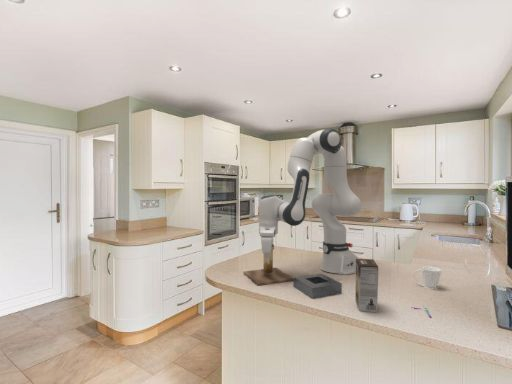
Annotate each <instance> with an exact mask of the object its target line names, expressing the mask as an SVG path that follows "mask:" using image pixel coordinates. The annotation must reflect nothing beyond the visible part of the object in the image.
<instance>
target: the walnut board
mask: <svg viewBox="0 0 512 384" xmlns="http://www.w3.org/2000/svg"><path fill="white" fill-rule="evenodd" d="M243 275H244V276H246V277H247V278H248V279H249V280H250V281H252V282H253V283H254V284H255V285H256V286H257V287H261V286H267V285H273V284H280V283H288V282H294V276H291V275H289V274H288V273H286V272H285V271H283V270H281V269H280V268H277V267H273V272H272V273H264V272H263V268H262V269H254V270H246V271H243Z"/></svg>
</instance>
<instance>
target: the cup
mask: <svg viewBox="0 0 512 384" xmlns="http://www.w3.org/2000/svg"><path fill="white" fill-rule="evenodd" d="M418 271H419V272H421V273H422V279H423V282H424V284H422V283H420V282H419V281H418V280H417V279H416V273H417V272H418ZM441 272H442V269H440V268H438V267H434V266H423V267H421V269H416V270H415V271H414V273H413V279H414V280H415V282H416V283H417V284H419V285H420V286H422V287H423V286H424V288H426V287H427V288H426V289H429V288H430V289H429V290H437V289H438V285H439V282H440V277H441Z"/></svg>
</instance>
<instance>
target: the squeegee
mask: <svg viewBox="0 0 512 384" xmlns="http://www.w3.org/2000/svg"><path fill="white" fill-rule="evenodd" d="M411 308H414V309H413V310H417V309H421V308H418V307H412V306H411V307H410V309H411ZM424 309H426V311H427V312H426V311H425V312H426V314H427V313H428V314H427V315H428V318H430V319H433V318H432V315H431V313H430V311H428V308H427V307H426V308H424Z"/></svg>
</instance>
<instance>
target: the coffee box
mask: <svg viewBox="0 0 512 384" xmlns="http://www.w3.org/2000/svg"><path fill="white" fill-rule="evenodd" d="M378 295H379V265H378V264H377V263H376V261H375V259H373V258H372V259H371V258H369V259H366V258H358V259H356V272H355V299H354V300H355V303H356V306H357V309H358V311H360V312H369V313H370V312H371V313H378V298H379V297H378Z"/></svg>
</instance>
